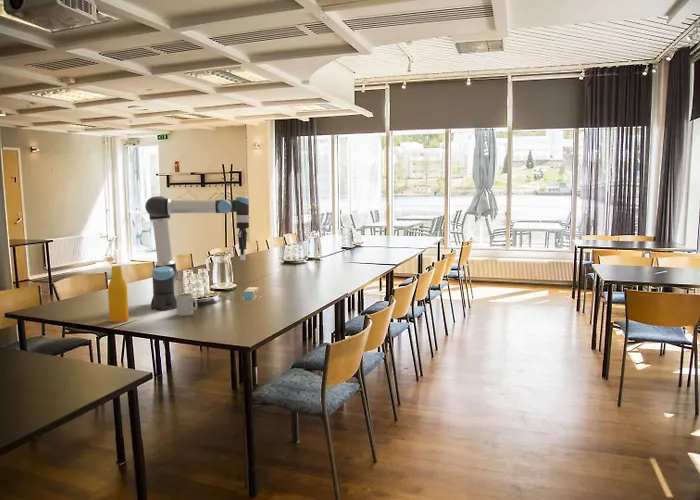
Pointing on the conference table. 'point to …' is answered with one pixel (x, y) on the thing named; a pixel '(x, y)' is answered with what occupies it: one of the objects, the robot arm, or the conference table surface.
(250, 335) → the conference table surface
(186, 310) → the mug
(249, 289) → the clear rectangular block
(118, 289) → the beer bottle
